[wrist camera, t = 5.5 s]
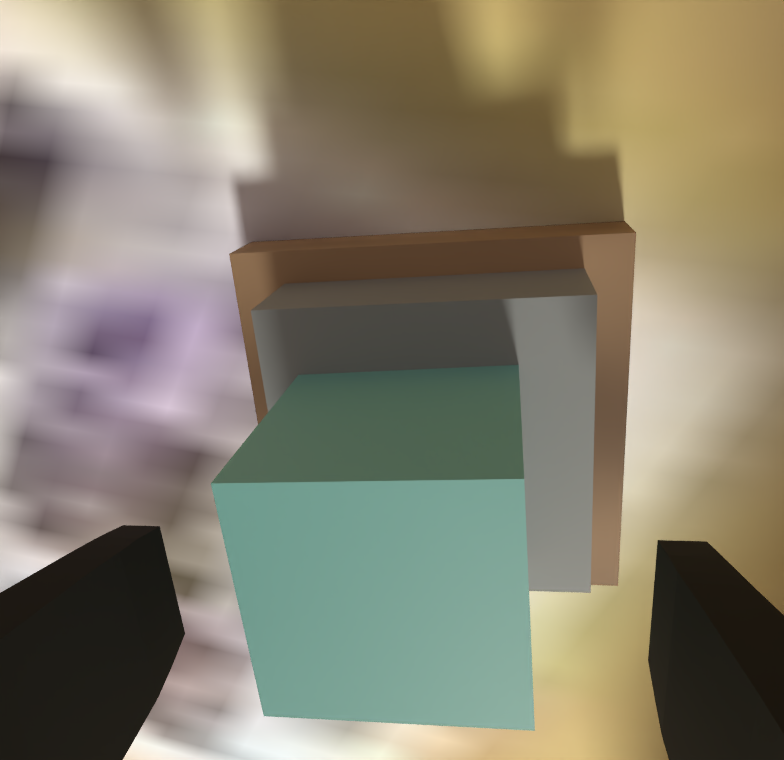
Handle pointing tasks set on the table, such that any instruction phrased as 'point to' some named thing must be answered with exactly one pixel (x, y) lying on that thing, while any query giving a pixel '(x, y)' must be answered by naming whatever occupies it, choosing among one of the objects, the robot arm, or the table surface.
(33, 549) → the table surface
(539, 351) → the tower mid
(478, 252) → the tower base
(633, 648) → the table surface
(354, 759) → the table surface
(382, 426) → the teal block
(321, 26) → the table surface
